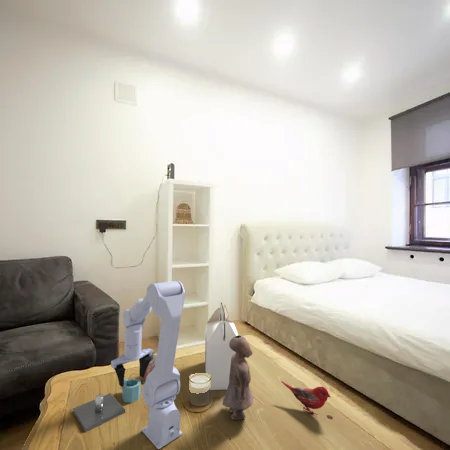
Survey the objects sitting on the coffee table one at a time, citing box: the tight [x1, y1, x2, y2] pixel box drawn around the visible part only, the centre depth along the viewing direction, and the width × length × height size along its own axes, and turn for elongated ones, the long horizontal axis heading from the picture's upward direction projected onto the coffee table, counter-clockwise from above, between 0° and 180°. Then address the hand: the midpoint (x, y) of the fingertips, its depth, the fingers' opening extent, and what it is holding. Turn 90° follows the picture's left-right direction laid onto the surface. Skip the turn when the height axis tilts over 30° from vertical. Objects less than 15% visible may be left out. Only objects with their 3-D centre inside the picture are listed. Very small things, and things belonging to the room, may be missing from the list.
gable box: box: [204, 302, 239, 391], centre depth 109 cm, size 22×13×28 cm, turn 5°
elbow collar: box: [121, 378, 142, 404], centre depth 93 cm, size 8×6×5 cm
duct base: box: [72, 392, 126, 433], centre depth 84 cm, size 12×12×5 cm
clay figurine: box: [222, 334, 255, 421], centre depth 85 cm, size 13×10×25 cm
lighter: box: [142, 349, 157, 384], centre depth 105 cm, size 8×3×10 cm, turn 168°
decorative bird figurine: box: [280, 380, 332, 416], centre depth 87 cm, size 3×18×10 cm, turn 49°
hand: (131, 381), depth 92 cm, fingers open, 7 cm apart
